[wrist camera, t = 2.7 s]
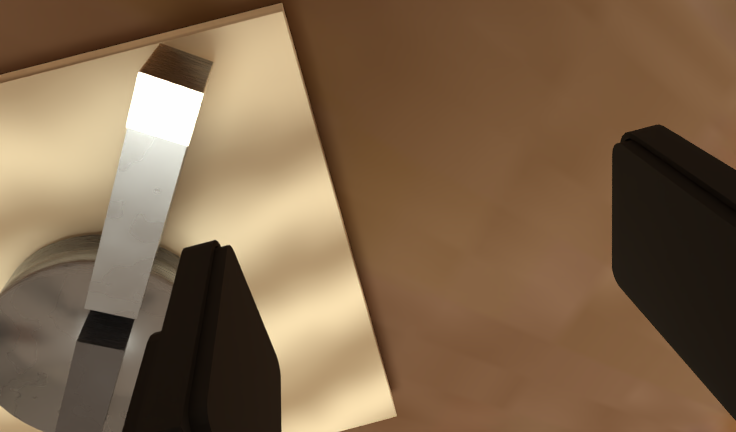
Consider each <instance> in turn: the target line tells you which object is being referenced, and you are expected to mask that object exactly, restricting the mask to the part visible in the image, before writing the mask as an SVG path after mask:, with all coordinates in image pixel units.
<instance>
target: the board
mask: <svg viewBox="0 0 736 432" xmlns="http://www.w3.org/2000/svg"><path fill="white" fill-rule="evenodd" d="M160 43H162V44H165V45H168V46H171V47H174V48H177V49H179V50H182V51H185V52H188V53H191V54H193V55H196V56H199V57H202V58H205V59H208V60H210V61H213V62H215V63H214V66H213V69H212V73H211V76H210V80H209V83H208V86H207V90H206V93H205V97H204V100H203V104H202V107H201V110H200V113H199V116H198V119H197V122H196V125H195V128H194V131H193V134H192V137H191V140H190V144H189V147H188V151H187V154H186V157H185V161H184V164H183V168H182V171H181V175H180V178H179V181H178V185H177V188H176V192H175V195H174V199H173V202H172V206H171V209H170V212H169V216H168V219H167V223H166V226H165V230H164V233H163V236H162V240H161V243H160V247H162V248H164V249H167V250H168V251H170V252H172V253H174V254H175V255H177V256H179V257H180V256H181V252H182V250H183V248H186V247H190V246H193V245H197V244H201V243H205V242H209V241H213V240H217V241H218V242H219V244H220V245H221V247H222V246H226V245H231V247H232V248H233V250H234V252H235V255H236V257H237V259H238V262H239V264H240V267H241V269H242V272H243V274H244V277H245V279H246V282H247V284H248V286H249V289H250V291H251V294H252V296H253V299H254V301H255V304H256V306H257V309H258V311H259V313H260V316H261V318H262V321H263V323H264V326H265V328H266V331H267V333H268V336H269V338H270V340H271V343H272V345H273V348H274V350H275V353H276V355H277V358H278V362H279V366H280V372H281V426H282V432H339V431H343V430H347V429H350V428H354V427H358V426H362V425H365V424H369V423H373V422H377V421H381V420H384V419H388V418H392V417H396V416H397V415H396V410H395V406H394V402H393V398H392V393H391V389H390V386H389V382H388V379H387V375H386V372H385V368H384V364H383V361H382V357H381V354H380V350H379V347H378V343H377V339H376V336H375V332H374V329H373V325H372V322H371V318H370V314H369V311H368V307H367V304H366V300H365V297H364V293H363V289H362V286H361V282H360V279H359V275H358V272H357V268H356V264H355V261H354V257H353V254H352V250H351V247H350V243H349V239H348V236H347V232H346V229H345V225H344V222H343V218H342V214H341V211H340V207H339V204H338V200H337V197H336V193H335V190H334V186H333V182H332V179H331V175H330V172H329V168H328V165H327V161H326V157H325V154H324V150H323V147H322V143H321V140H320V136H319V132H318V129H317V125H316V122H315V118H314V115H313V111H312V107H311V104H310V100H309V97H308V93H307V90H306V86H305V82H304V79H303V75H302V72H301V68H300V65H299V61H298V57H297V54H296V50H295V47H294V43H293V40H292V36H291V33H290V29H289V25H288V22H287V18H286V15H285V11H284V8H283V4H282V3H279V4H275V5H271V6H267V7H263V8H259V9H255V10H251V11H247V12H243V13H240V14H236V15H232V16H228V17H224V18H220V19H216V20H212V21H208V22H204V23H200V24H197V25H193V26H189V27H185V28H181V29H177V30H173V31H169V32H165V33H161V34H157V35H154V36H150V37H146V38H142V39H138V40H134V41H130V42H126V43H122V44H118V45H114V46H111V47H107V48H103V49H99V50H95V51H91V52H87V53H83V54H79V55H75V56H71V57H68V58H64V59H60V60H56V61H52V62H48V63H44V64H40V65H36V66H32V67H28V68H25V69H21V70H17V71H13V72H9V73H5V74H1V75H0V292H1V290H2V289H3V287H4V286H5V284H6V283H7V281H8V280H9V279H10V277H11V276H12V274H13V273H14V271H15V270H16V269H17V267H18V266H19V265H20V264H21V263H22V262H23V261H24V260H25V259H27V258H28V257H29V256H31V255H32V254H34V253H35V252H36V251H38V250H40V249H42V248H44V247H46V246H48V245H50V244H52V243H55V242H58V241H61V240H64V239H68V238H72V237H76V236H84V235H101V234H102V231H103V227H104V223H105V219H106V215H107V210H108V206H109V202H110V198H111V194H112V189H113V185H114V181H115V177H116V173H117V168H118V164H119V160H120V156H121V152H122V147H123V143H124V139H125V135H126V131H127V127H126V123H127V119H128V114H129V110H130V106H131V102H132V97H133V93H134V89H135V85H136V80H137V76H138V72H139V70H140V69H141V68H142V66H143V65H144V64H145V62H146V61H147V60H148V58H149V57H150V56H151V54H152V53H153V52H154V50H155V49H156V48H157V46H158V45H159V44H160ZM0 432H43V431H41V430H38V429H36V428H34V427H32V426H30V425H28V424H26V423H24V422H22V421H21V420H19V419H17V418H16V417H14V416H12V415H11V414H10V413H9V412H7V411H6V410H5V409H4V408H2V407H1V406H0Z"/></svg>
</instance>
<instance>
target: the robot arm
mask: <svg viewBox="0 0 736 432" xmlns="http://www.w3.org/2000/svg"><path fill="white" fill-rule="evenodd" d="M612 270H613V274H614V277H615V280H616V282H617V284H618V285H619V287H620V288H621V289H622V290H623V291H624V292H625V294H626V295H627V296H628V297H629V298H630V299H631V300H632V302H633V303H634V304H635V305H636V306H637V307H638V309H639V310H640V311H641V312H642V313H643V314H644V315H645V317H646V318H647V319H648V320H649V321H650V322H651V324H652V325H653V326H654V327H655V328H656V329H657V330H658V332H659V333H660V334H661V335H662V336H663V337H664V338H665V340H666V341H667V342H668V343H669V344H670V345H671V347H672V348H673V349H674V350H675V351H676V352H677V353H678V355H679V356H680V357H681V358H682V359H683V360H684V362H685V363H686V364H687V365H688V366H689V367H690V368H691V370H692V371H693V372H694V373H695V374H696V375H697V377H698V378H699V379H700V380H701V381H702V382H703V383H704V385H705V386H706V387H707V388H708V389H709V390H710V391H711V393H712V394H713V395H714V396H715V397H716V398H717V400H718V401H719V402H720V403H721V404H722V405H723V406H724V408H725V409H726V410H727V411H728V412H729V413H730V415H731V416H732V417H733V418H734V419H735V420H736V170H735V169H733V168H731V167H730V166H728V165H727V164H725V163H723V162H722V161H720V160H718V159H717V158H715V157H713V156H712V155H710V154H708V153H707V152H705V151H704V150H702V149H700V148H699V147H697V146H695V145H694V144H692V143H690V142H689V141H687V140H685V139H684V138H682V137H681V136H679V135H677V134H676V133H674V132H672V131H671V130H669V129H667V128H666V127H664V126H662V125H654V126H650V127H646V128H642V129H639V130H635V131H631V132H627V133H625V134H624V135H623V136H622V139H621V143H617V144H615V145H614V148H613V153H612ZM122 432H282V426H281V372H280V366H279V362H278V358H277V355H276V353H275V350H274V348H273V345H272V343H271V340H270V338H269V336H268V333H267V331H266V328H265V326H264V323H263V321H262V318H261V316H260V313H259V311H258V309H257V306H256V304H255V301H254V299H253V296H252V294H251V291H250V289H249V286H248V284H247V282H246V279H245V277H244V274H243V272H242V269H241V267H240V264H239V262H238V259H237V257H236V255H235V252H234V250H233V248H232V247H231V245H226V246H222V247H221V245H220V244H219V242H218V241H217V240H213V241H209V242H205V243H201V244H197V245H193V246H190V247H186V248H183V250H182V252H181V256H180V260H179V264H178V268H177V272H176V276H175V280H174V284H173V287H172V291H171V295H170V299H169V303H168V307H167V311H166V315H165V319H164V322H163V326H162V330H161V331H159V332H155V333H153V334H152V335H150V337H149V339H148V341H147V344H146V348H145V351H144V355H143V358H142V362H141V365H140V369H139V373H138V376H137V380H136V383H135V387H134V390H133V394H132V397H131V401H130V404H129V408H128V412H127V415H126V419H125V422H124V426H123V429H122Z"/></svg>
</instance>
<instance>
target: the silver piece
mask: <svg viewBox="0 0 736 432" xmlns="http://www.w3.org/2000/svg"><path fill="white" fill-rule="evenodd" d="M214 63H215V62H213V61H210V60H208V59H205V58H202V57H199V56H196V55H193V54H191V53H188V52H185V51H182V50H179V49H177V48H174V47H171V46H168V45H165V44H162V43H160V44H159V45H158V46H157V48H156V49H155V50H154V52H153V53H152V54H151V56H150V57H149V58H148V60H147V61H146V62H145V64H144V65H143V66H142V68H141V69H140V70H139V72H138V76H137V80H136V85H135V89H134V93H133V97H132V102H131V106H130V110H129V114H128V119H127V123H126V127H127V131H126V135H125V139H124V143H123V147H122V152H121V156H120V160H119V164H118V168H117V173H116V177H115V181H114V185H113V189H112V194H111V198H110V202H109V206H108V210H107V215H106V219H105V223H104V227H103V231H102V234H101V235H84V236H76V237H72V238H68V239H64V240H61V241H58V242H55V243H52V244H50V245H48V246H46V247H44V248H42V249H40V250H38V251H36V252H35V253H34V254H32V255H31V256H29V257H28V258H27V259H25V260H24V261H23V262H22V263H21V264H20V265H19V266H18V267H17V269H16V270H15V271H14V273H13V274H12V276H11V277H10V279H9V280H8V281H7V283H6V284H5V286H4V287H3V289H2V290H1V292H0V406H1V407H2V408H4V409H5V410H6V411H7V412H9V413H10V414H11V415H12V416H14V417H16V418H17V419H19V420H21V421H22V422H24V423H26V424H28V425H30V426H32V427H34V428H36V429H38V430H41V431H43V432H122V429H123V426H124V422H125V419H126V415H127V412H128V408H129V404H130V401H131V397H132V394H133V390H134V387H135V383H136V380H137V376H138V373H139V369H140V365H141V362H142V358H143V355H144V351H145V348H146V344H147V341H148V339H149V337H150V335H152V334H153V333H155V332H159V331H161V330H162V326H163V322H164V319H165V315H166V311H167V307H168V303H169V299H170V295H171V291H172V287H173V284H174V280H175V276H176V272H177V268H178V264H179V260H180V257H179V256H177V255H175V254H174V253H172V252H170V251H168V250H167V249H164V248H162V247H160V243H161V240H162V236H163V233H164V230H165V226H166V223H167V219H168V216H169V212H170V209H171V206H172V202H173V199H174V195H175V192H176V188H177V185H178V181H179V178H180V175H181V171H182V168H183V164H184V161H185V157H186V154H187V151H188V147H189V144H190V140H191V137H192V134H193V131H194V128H195V125H196V122H197V119H198V116H199V113H200V110H201V107H202V104H203V100H204V97H205V93H206V90H207V86H208V83H209V80H210V76H211V73H212V69H213V66H214Z"/></svg>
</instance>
